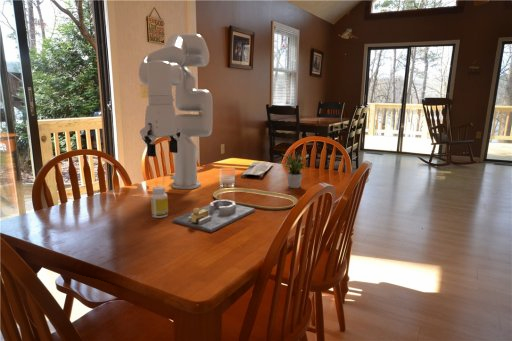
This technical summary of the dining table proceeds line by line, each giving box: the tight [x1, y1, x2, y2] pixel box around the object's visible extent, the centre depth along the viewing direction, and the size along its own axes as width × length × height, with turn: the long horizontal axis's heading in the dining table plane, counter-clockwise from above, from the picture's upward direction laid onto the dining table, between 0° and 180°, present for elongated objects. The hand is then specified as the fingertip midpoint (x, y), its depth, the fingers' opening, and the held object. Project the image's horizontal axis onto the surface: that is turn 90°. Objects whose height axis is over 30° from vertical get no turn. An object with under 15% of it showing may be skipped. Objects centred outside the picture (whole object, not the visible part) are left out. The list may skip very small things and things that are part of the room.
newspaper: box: [240, 161, 274, 179], centre depth 193 cm, size 35×12×4 cm, turn 171°
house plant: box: [280, 150, 309, 189], centre depth 160 cm, size 14×14×16 cm
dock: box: [172, 199, 256, 233], centre depth 122 cm, size 16×24×4 cm, turn 147°
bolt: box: [191, 207, 208, 223], centre depth 115 cm, size 2×6×4 cm, turn 147°
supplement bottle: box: [150, 185, 169, 219], centre depth 122 cm, size 5×5×10 cm
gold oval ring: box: [212, 187, 298, 211], centre depth 142 cm, size 19×35×2 cm, turn 63°
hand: (163, 154), depth 119 cm, fingers open, 9 cm apart
